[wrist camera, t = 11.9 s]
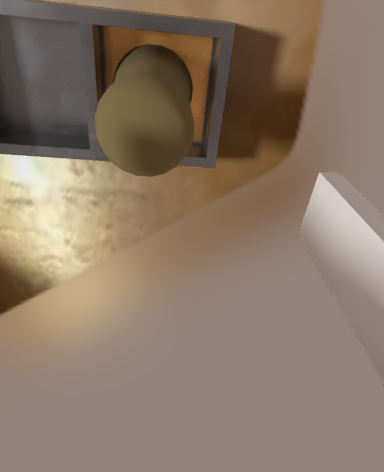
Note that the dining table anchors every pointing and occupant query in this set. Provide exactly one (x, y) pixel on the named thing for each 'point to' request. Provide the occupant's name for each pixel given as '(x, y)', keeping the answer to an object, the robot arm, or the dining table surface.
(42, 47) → the rack
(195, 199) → the dining table surface
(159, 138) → the olive pawn-shaped piece
